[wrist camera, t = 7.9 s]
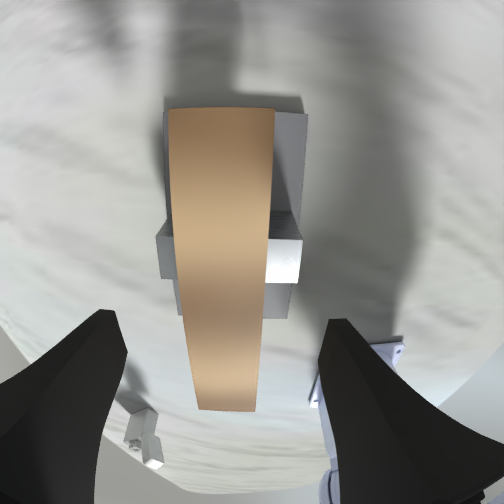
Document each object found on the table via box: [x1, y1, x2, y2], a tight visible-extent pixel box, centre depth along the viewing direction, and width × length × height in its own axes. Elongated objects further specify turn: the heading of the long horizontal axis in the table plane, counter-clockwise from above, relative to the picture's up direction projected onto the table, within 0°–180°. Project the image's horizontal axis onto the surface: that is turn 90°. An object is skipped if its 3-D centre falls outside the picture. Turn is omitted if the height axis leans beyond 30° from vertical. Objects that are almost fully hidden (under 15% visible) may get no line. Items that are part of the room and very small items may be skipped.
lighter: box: [123, 408, 164, 469], centre depth 26 cm, size 7×2×8 cm, turn 130°
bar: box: [168, 107, 275, 412], centre depth 12 cm, size 14×3×4 cm, turn 178°
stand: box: [156, 112, 308, 319], centre depth 16 cm, size 14×8×5 cm, turn 178°
